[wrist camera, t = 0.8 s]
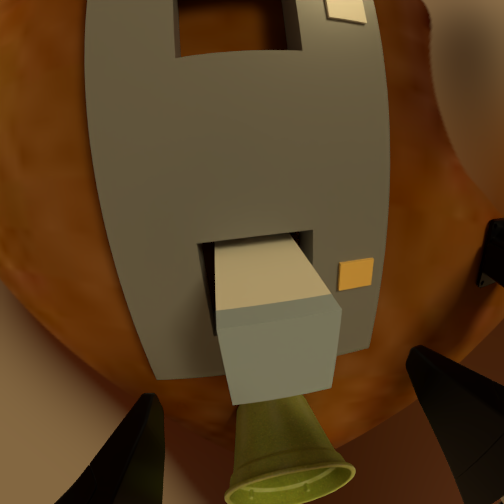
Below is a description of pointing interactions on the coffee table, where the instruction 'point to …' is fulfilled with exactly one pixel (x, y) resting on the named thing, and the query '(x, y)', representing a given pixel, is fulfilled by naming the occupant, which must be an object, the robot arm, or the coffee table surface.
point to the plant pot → (283, 455)
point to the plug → (273, 319)
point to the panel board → (237, 162)
